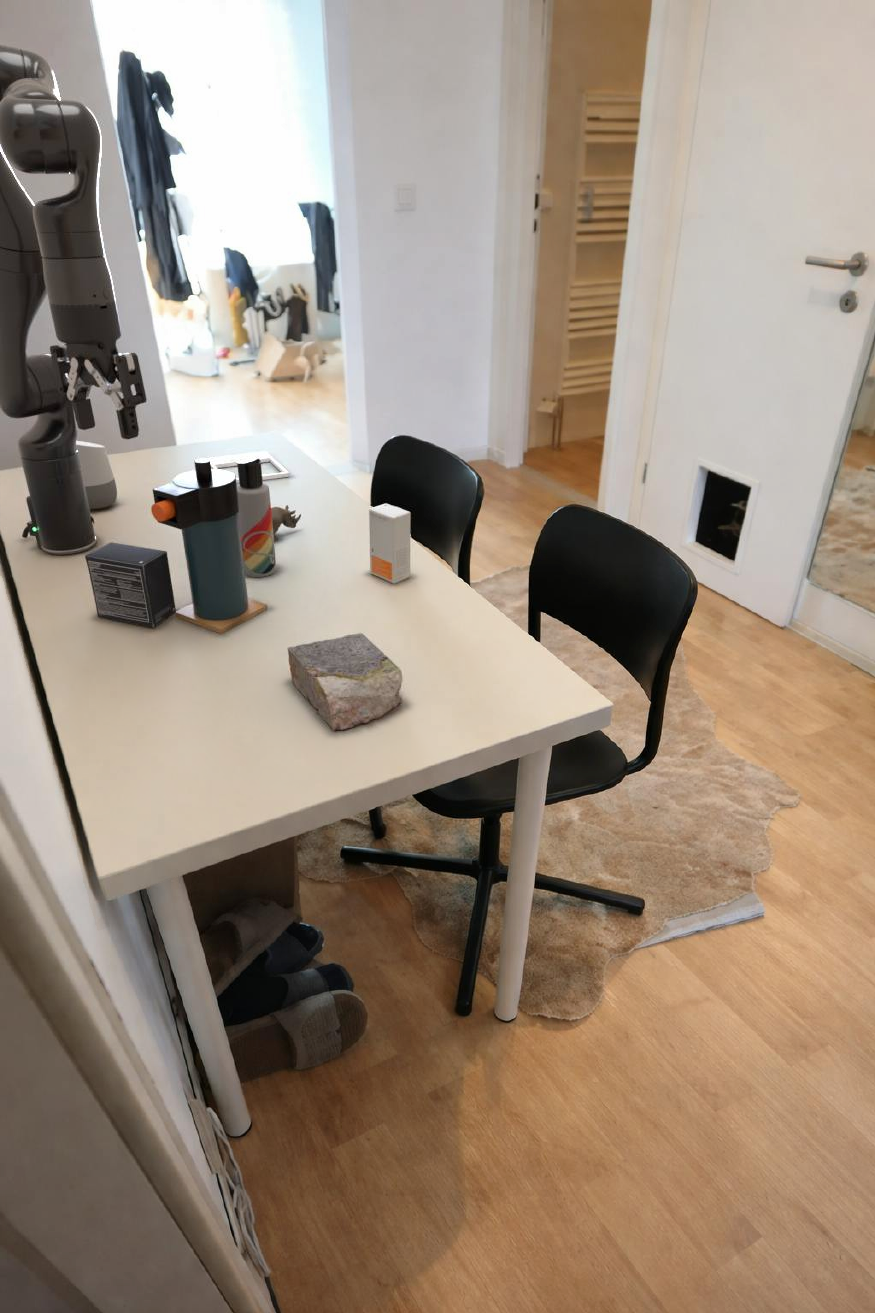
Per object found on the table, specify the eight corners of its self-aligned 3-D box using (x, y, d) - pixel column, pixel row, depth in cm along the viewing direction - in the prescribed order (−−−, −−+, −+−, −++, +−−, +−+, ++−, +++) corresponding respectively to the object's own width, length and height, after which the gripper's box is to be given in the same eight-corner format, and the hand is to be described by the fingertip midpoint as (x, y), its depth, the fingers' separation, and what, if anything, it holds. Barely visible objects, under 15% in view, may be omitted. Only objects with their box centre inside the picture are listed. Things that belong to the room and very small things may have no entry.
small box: (179, 611, 130) (169, 549, 125) (154, 629, 125) (142, 565, 120) (123, 600, 133) (111, 539, 128) (96, 617, 128) (82, 555, 122)
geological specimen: (357, 627, 116) (410, 671, 105) (358, 666, 119) (410, 712, 107) (285, 644, 111) (332, 691, 100) (288, 683, 114) (334, 734, 102)
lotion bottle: (269, 579, 141) (258, 464, 131) (237, 576, 142) (224, 461, 132) (281, 566, 146) (271, 454, 135) (250, 562, 146) (239, 451, 136)
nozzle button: (165, 523, 114) (162, 505, 112) (152, 519, 115) (149, 501, 114) (182, 517, 116) (179, 499, 115) (169, 513, 117) (166, 495, 116)
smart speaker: (129, 504, 171) (117, 436, 164) (91, 517, 164) (77, 447, 157) (99, 495, 175) (86, 429, 168) (61, 507, 169) (46, 439, 161)
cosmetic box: (369, 574, 143) (367, 508, 137) (387, 567, 146) (386, 502, 140) (393, 584, 140) (393, 517, 134) (411, 577, 142) (411, 511, 136)
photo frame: (265, 450, 201) (288, 471, 187) (266, 454, 201) (289, 476, 188) (205, 457, 195) (224, 480, 181) (206, 462, 196) (225, 484, 182)
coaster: (221, 634, 124) (220, 629, 124) (175, 616, 129) (174, 611, 128) (267, 609, 131) (267, 604, 131) (222, 593, 136) (221, 588, 135)
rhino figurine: (308, 532, 159) (306, 503, 156) (245, 550, 151) (242, 519, 148) (297, 526, 162) (294, 497, 159) (234, 543, 154) (230, 513, 151)
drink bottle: (205, 634, 122) (183, 479, 110) (165, 618, 126) (139, 467, 114) (261, 605, 131) (246, 458, 119) (221, 591, 135) (203, 448, 123)
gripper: (17, 297, 100) (49, 431, 108) (94, 305, 93) (121, 447, 101) (71, 291, 105) (96, 420, 114) (147, 298, 99) (168, 434, 107)
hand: (108, 433), depth 107 cm, fingers open, 8 cm apart
